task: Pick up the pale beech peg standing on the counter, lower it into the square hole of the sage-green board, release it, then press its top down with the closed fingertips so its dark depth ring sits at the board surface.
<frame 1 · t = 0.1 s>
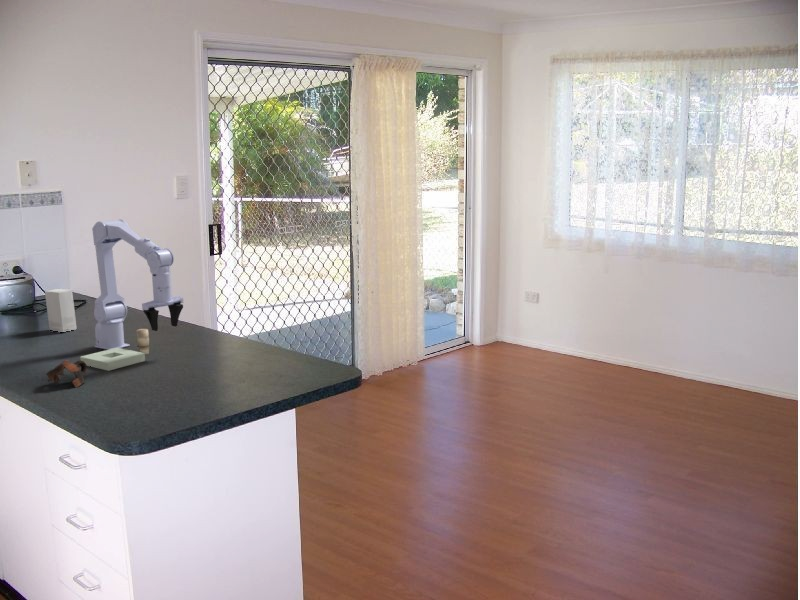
hand: (164, 328, 270), 10 cm above the counter, tool pointing down, fingers open, 7 cm apart
skincare box: (62, 331, 313), on the counter
brown arch piece: (70, 384, 244), on the counter
beech peg: (144, 353, 278), on the counter
sage board: (113, 362, 267), on the counter
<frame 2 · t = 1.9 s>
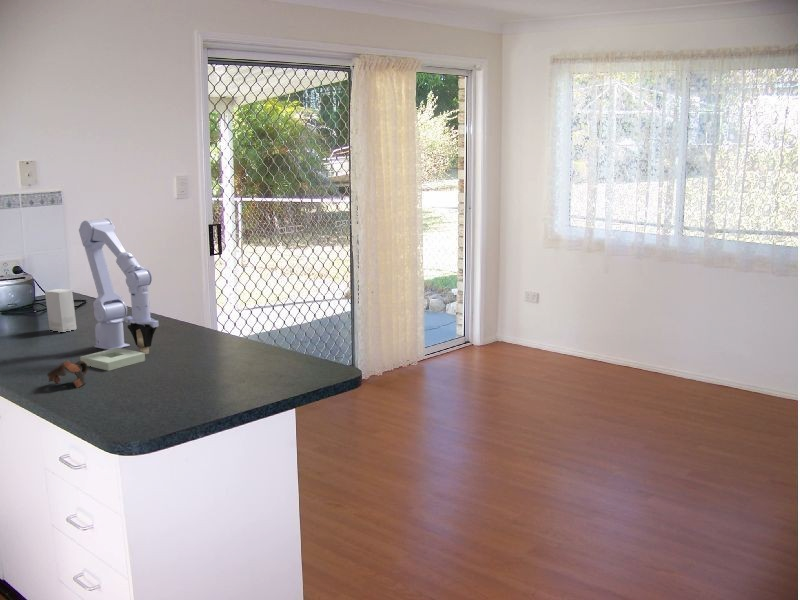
hand: (143, 345, 277), 3 cm above the counter, tool pointing down, fingers closed on beech peg, 4 cm apart
beech peg: (144, 353, 278), on the counter, touching gripper
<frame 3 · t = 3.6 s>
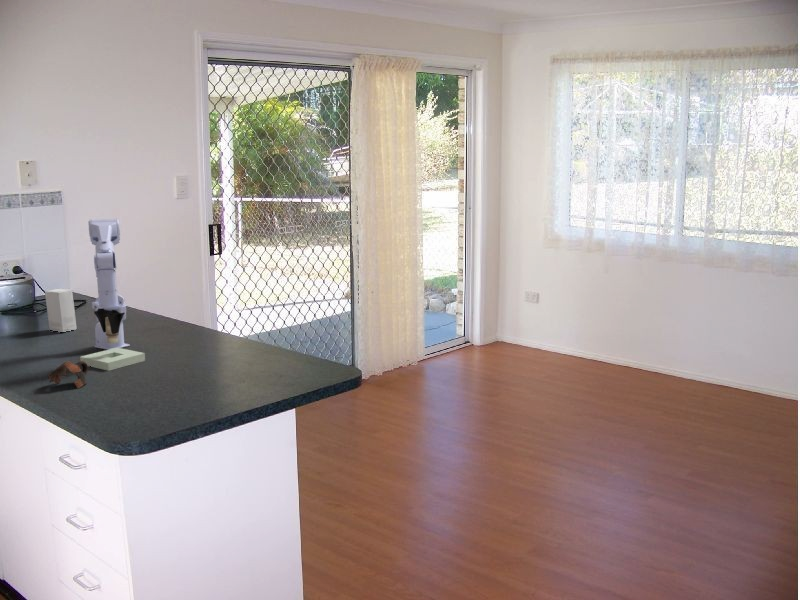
hand: (110, 332, 265), 10 cm above the counter, tool pointing down, fingers closed on beech peg, 4 cm apart
beech peg: (112, 342, 266), point 7 cm above the counter, touching gripper
when the fingers open (4 cm above the counter, at t = 5.5 s): beech peg stays where it is, resting in sage board.
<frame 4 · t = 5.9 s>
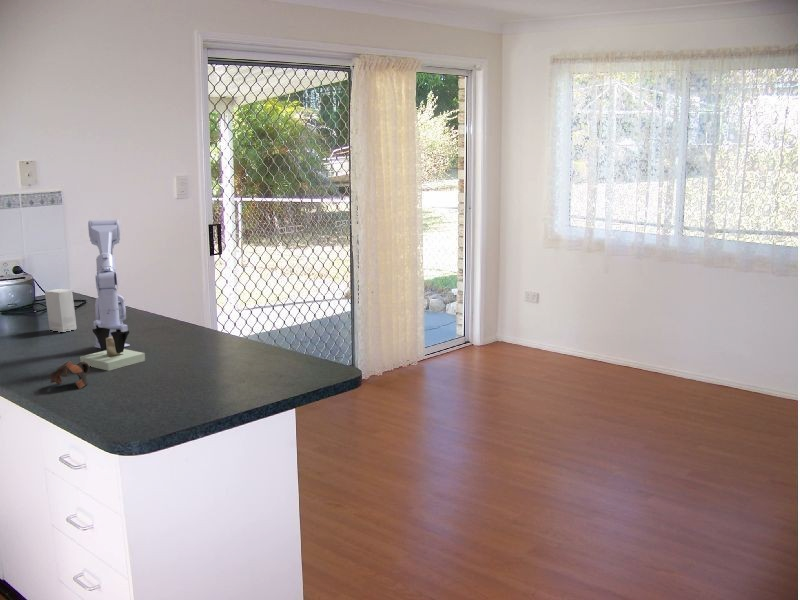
hand: (112, 351, 266), 4 cm above the counter, tool pointing down, fingers open, 7 cm apart
beech peg: (114, 362, 267), resting in sage board
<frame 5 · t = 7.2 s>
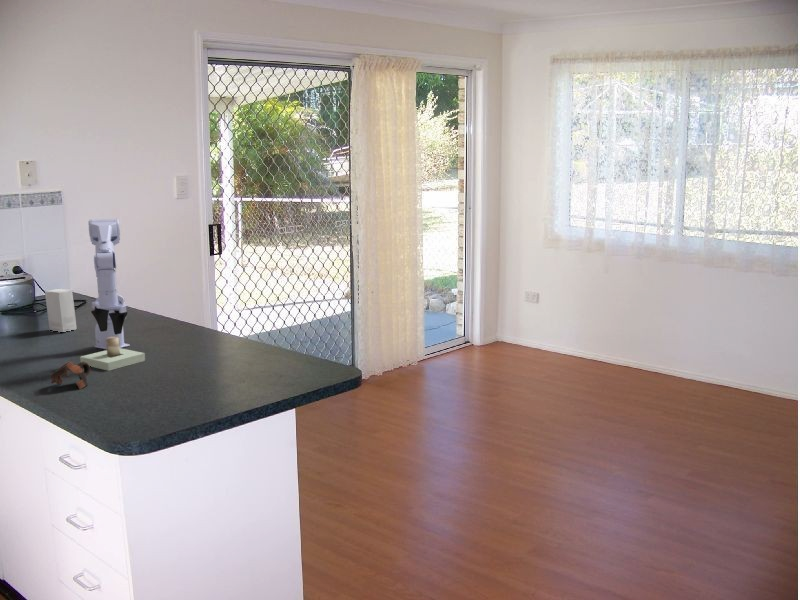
hand: (110, 332, 265), 10 cm above the counter, tool pointing down, fingers open, 7 cm apart
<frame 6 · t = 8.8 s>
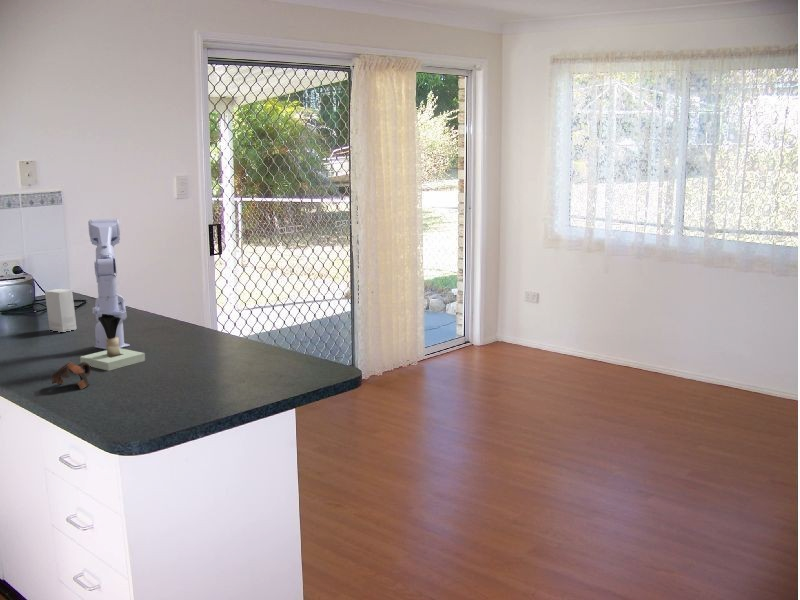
hand: (111, 337, 265), 8 cm above the counter, tool pointing down, fingers closed
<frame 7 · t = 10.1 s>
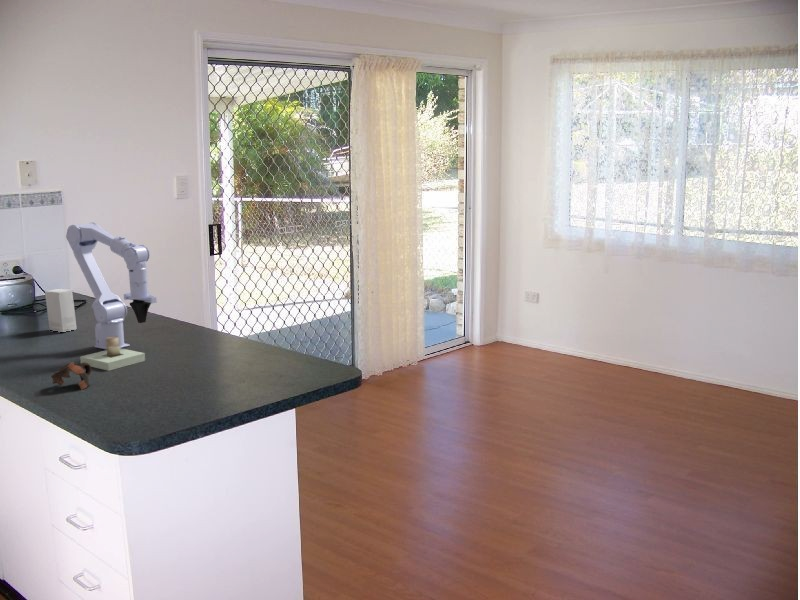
hand: (141, 322, 278), 10 cm above the counter, tool pointing down, fingers closed
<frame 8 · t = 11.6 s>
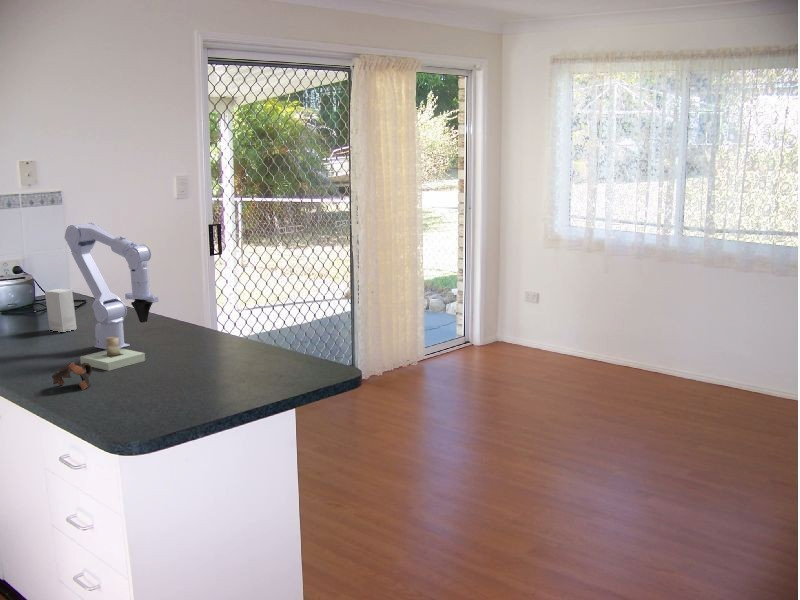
hand: (143, 321, 278), 10 cm above the counter, tool pointing down, fingers closed
at the end: beech peg 0.4 cm off-centre on the sage board, point 0.0 cm above the sage board's base; beech peg tilted 1°; the gripper is holding nothing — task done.
